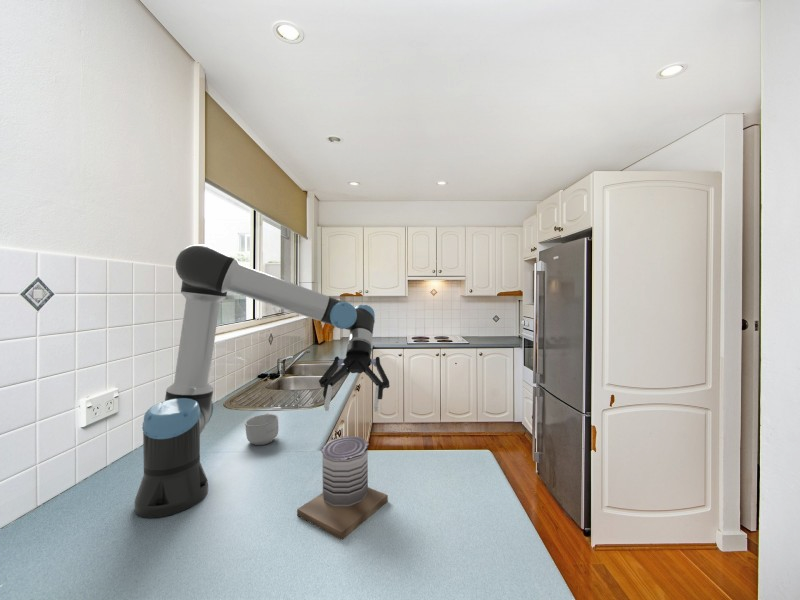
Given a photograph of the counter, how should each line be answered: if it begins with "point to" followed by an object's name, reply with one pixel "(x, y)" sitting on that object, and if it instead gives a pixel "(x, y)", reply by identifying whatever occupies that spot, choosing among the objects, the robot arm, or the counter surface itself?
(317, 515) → the walnut board
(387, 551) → the counter surface
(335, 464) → the can
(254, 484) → the counter surface
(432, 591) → the counter surface
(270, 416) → the teacup
